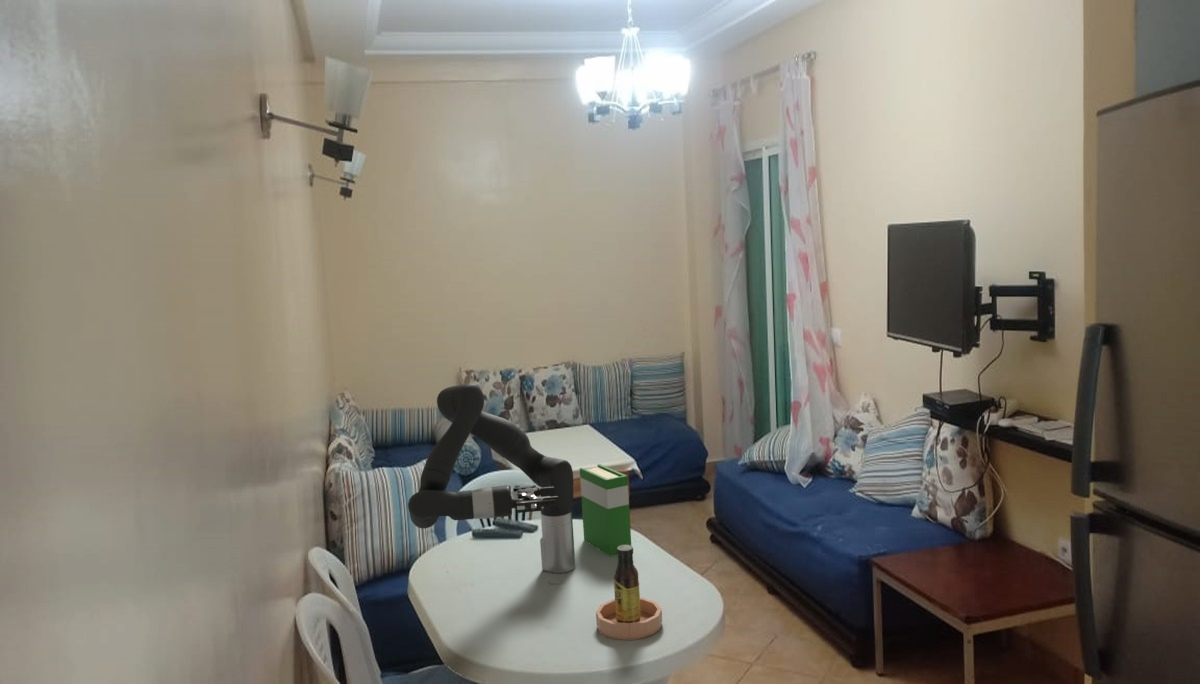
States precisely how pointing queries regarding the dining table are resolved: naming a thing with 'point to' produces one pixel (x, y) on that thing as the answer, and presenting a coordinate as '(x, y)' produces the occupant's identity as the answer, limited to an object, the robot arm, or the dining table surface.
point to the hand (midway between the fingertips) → (556, 495)
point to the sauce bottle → (626, 587)
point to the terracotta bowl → (629, 631)
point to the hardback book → (605, 508)
